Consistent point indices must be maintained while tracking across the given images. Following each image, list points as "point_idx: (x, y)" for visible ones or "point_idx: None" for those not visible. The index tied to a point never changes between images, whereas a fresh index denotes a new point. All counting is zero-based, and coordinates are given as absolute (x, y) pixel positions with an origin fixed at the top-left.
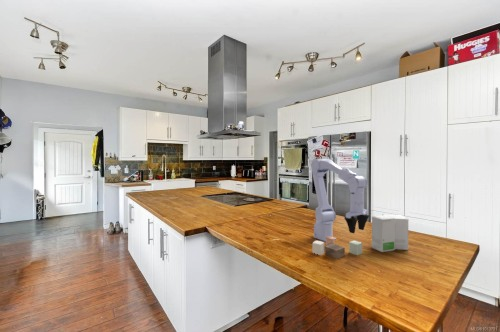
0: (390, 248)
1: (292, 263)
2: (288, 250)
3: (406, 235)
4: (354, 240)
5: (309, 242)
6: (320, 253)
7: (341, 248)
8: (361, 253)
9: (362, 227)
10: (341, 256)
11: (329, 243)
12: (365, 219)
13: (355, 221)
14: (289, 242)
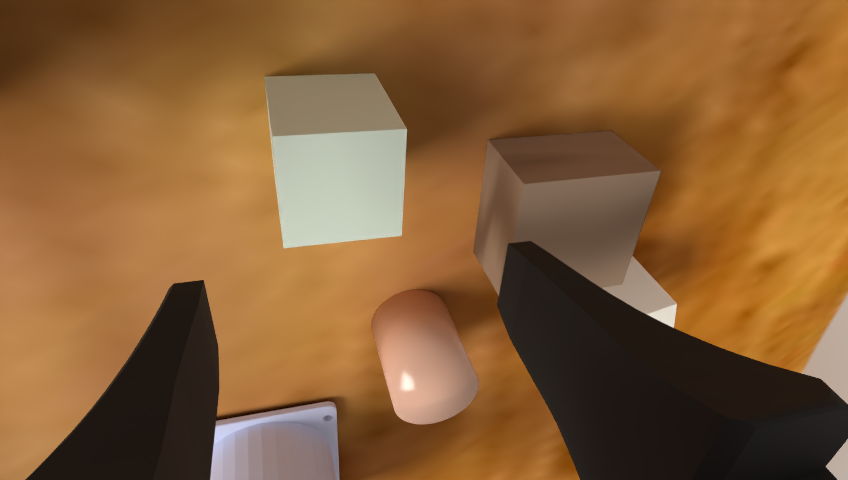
0: None
1: (838, 236)
2: None
3: None
4: (286, 241)
5: (451, 430)
6: None
7: (572, 183)
8: (280, 76)
9: (201, 328)
10: (541, 139)
11: (459, 337)
12: (153, 478)
13: (762, 378)
14: (552, 459)
